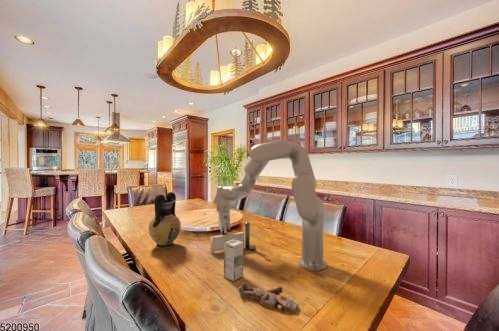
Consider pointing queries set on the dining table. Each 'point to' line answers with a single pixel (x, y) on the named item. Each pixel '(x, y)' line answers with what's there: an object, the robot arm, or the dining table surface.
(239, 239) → the gate leaf
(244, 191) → the robot arm
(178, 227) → the amphora
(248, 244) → the gate post
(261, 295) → the figurine
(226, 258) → the syrup box
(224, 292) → the dining table surface
